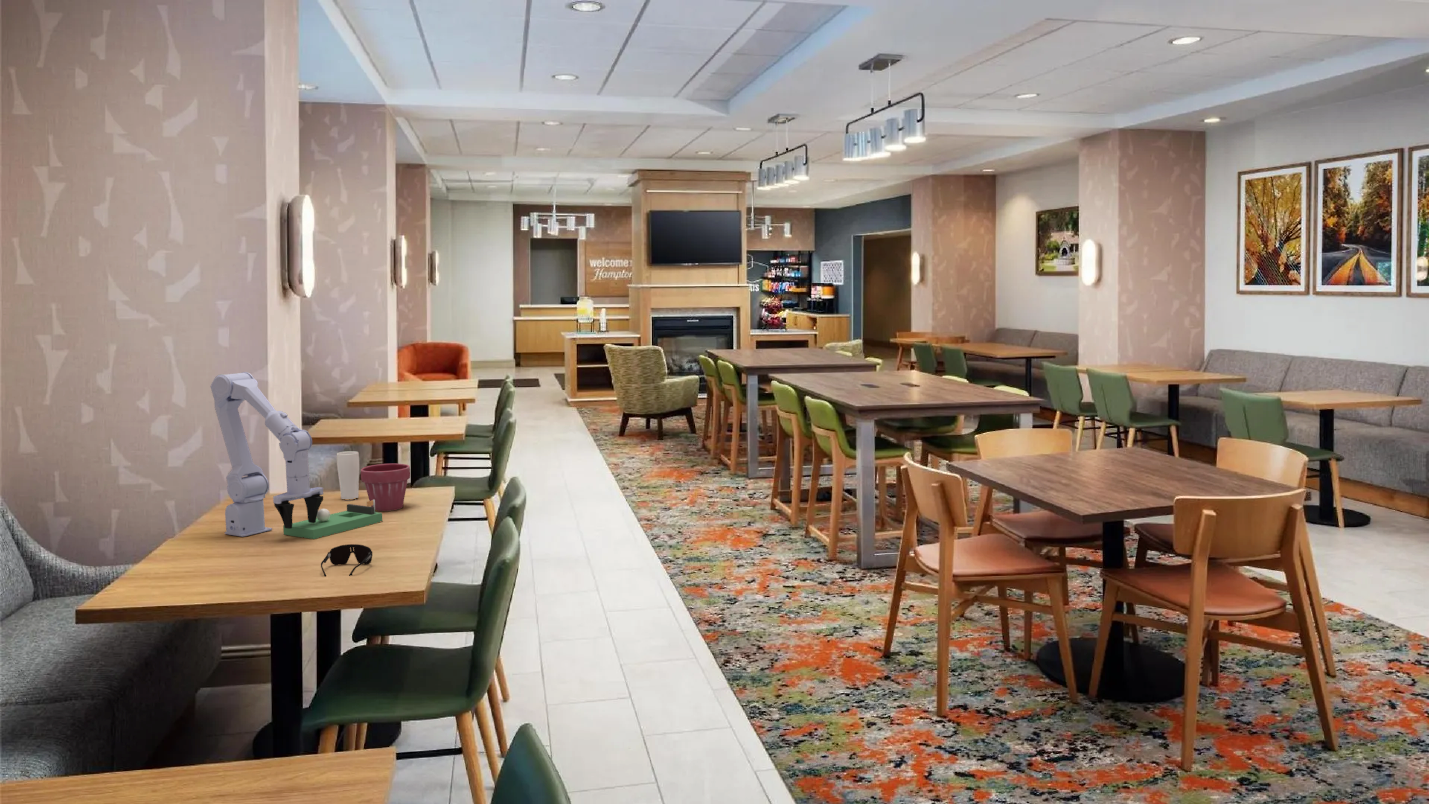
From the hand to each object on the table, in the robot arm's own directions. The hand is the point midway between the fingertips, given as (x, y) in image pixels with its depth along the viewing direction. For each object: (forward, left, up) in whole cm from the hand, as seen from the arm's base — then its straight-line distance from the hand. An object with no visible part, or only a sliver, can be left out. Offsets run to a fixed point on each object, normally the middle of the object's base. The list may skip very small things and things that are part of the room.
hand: (300, 525), depth 280 cm
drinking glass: (+42, +29, -3) cm, 51 cm away
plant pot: (+37, +7, -3) cm, 38 cm away
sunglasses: (-18, -38, -3) cm, 43 cm away
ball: (+8, 0, +1) cm, 8 cm away
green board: (+11, 0, -3) cm, 12 cm away
